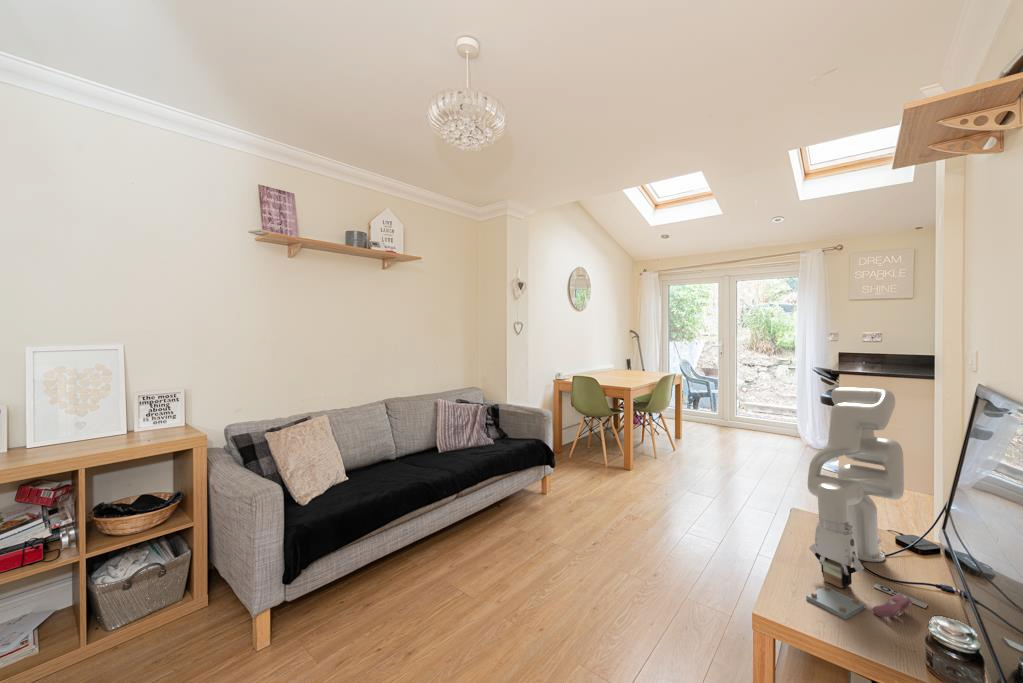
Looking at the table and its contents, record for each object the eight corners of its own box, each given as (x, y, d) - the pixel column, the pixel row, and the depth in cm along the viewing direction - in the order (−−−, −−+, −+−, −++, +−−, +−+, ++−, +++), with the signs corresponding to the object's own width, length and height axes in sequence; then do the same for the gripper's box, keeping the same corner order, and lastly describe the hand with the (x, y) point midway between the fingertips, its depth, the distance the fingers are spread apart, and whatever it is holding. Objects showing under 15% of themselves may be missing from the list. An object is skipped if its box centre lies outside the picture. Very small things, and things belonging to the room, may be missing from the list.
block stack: (832, 575, 131) (831, 557, 131) (849, 583, 126) (848, 564, 126) (823, 580, 129) (822, 561, 129) (841, 588, 124) (840, 568, 124)
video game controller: (887, 627, 110) (901, 611, 107) (869, 611, 114) (882, 595, 111) (906, 616, 114) (919, 600, 111) (887, 601, 118) (900, 585, 115)
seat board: (825, 590, 125) (825, 582, 125) (864, 608, 116) (864, 600, 116) (806, 599, 120) (806, 592, 120) (845, 619, 111) (845, 611, 111)
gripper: (872, 531, 122) (875, 591, 122) (811, 511, 137) (813, 564, 137) (859, 538, 118) (862, 599, 118) (798, 516, 134) (800, 570, 134)
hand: (836, 580), depth 128 cm, fingers closed on block stack, 4 cm apart
